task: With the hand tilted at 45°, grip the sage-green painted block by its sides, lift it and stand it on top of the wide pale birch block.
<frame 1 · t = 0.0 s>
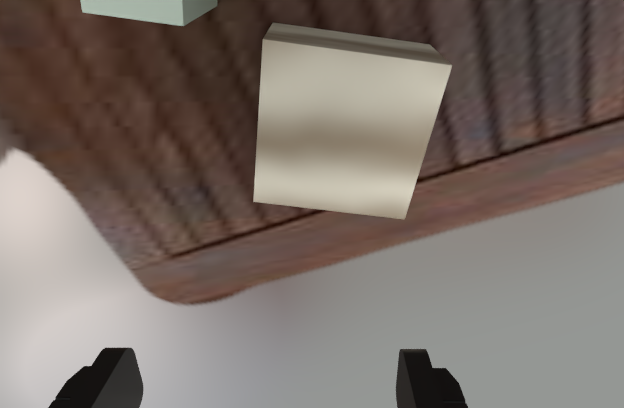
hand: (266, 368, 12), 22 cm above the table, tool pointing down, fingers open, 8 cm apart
birch block: (339, 108, 31), on the table
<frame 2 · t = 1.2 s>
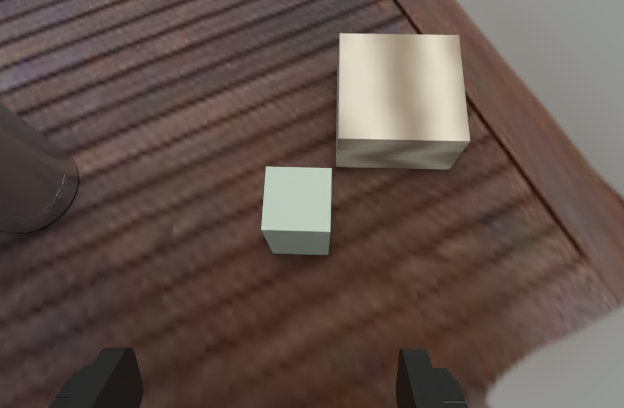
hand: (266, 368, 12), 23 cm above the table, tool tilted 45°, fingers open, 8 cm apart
sage block: (301, 227, 38), on the table
birch block: (390, 120, 41), on the table
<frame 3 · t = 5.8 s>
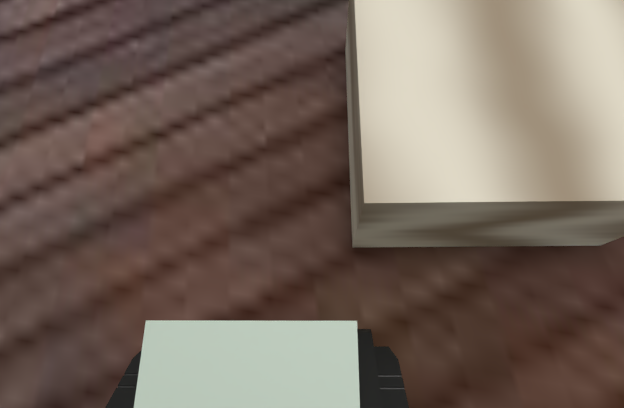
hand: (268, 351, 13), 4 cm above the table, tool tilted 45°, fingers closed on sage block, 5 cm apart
sage block: (281, 400, 16), on the table, touching gripper
birch block: (458, 141, 20), on the table
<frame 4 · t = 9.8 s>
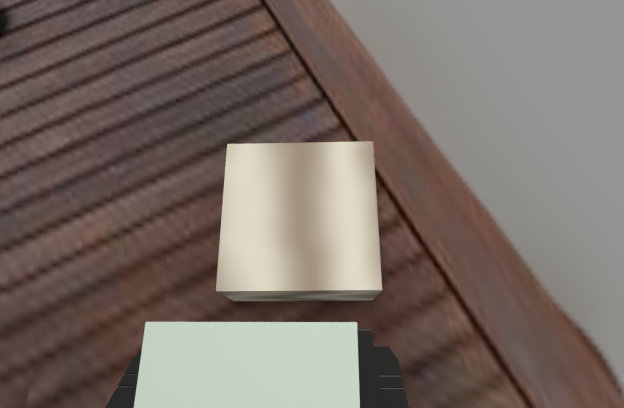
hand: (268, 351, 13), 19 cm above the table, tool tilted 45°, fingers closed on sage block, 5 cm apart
sage block: (281, 401, 16), point 15 cm above the table, touching gripper
birch block: (303, 234, 34), on the table
when the fingers open (10 cm above the table, at t = 14.1 s): sage block stays where it is, resting on birch block.
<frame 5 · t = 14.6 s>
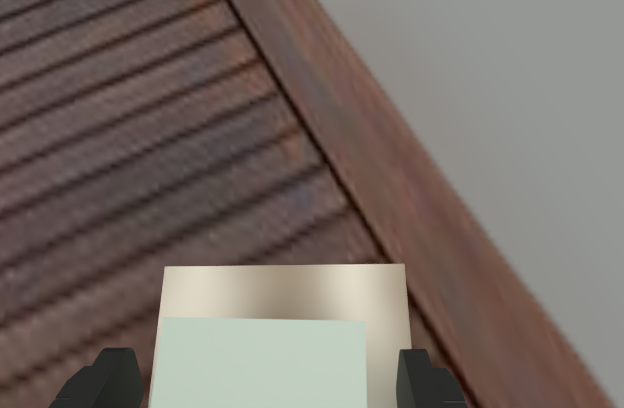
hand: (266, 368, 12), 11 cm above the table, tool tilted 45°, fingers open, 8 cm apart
sage block: (287, 396, 17), point 6 cm above the table, touching birch block
birch block: (292, 386, 22), on the table, touching sage block
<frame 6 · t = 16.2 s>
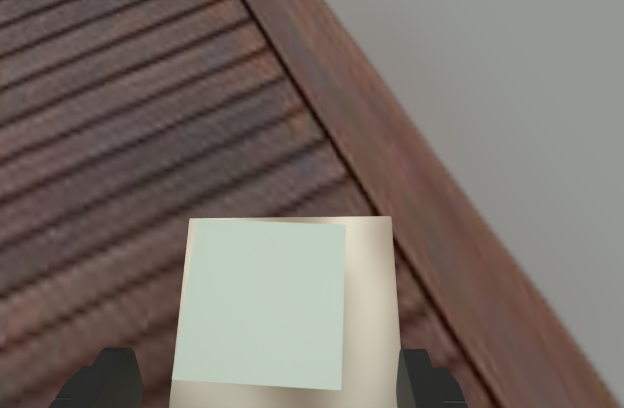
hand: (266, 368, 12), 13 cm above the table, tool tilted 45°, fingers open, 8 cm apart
sage block: (287, 317, 20), point 6 cm above the table, touching birch block
birch block: (296, 329, 26), on the table, touching sage block
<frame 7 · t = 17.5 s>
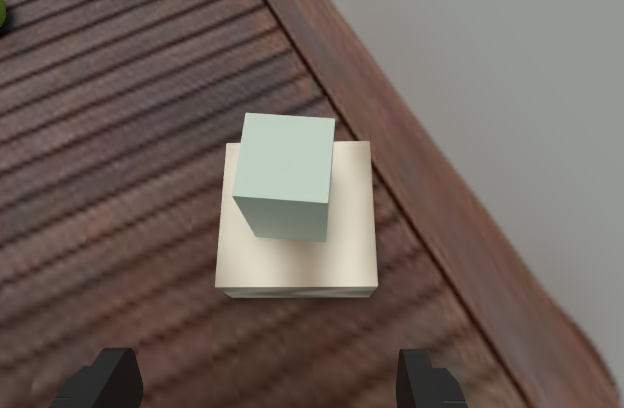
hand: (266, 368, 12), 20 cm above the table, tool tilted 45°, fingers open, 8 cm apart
sage block: (294, 206, 29), point 6 cm above the table
birch block: (301, 232, 35), on the table
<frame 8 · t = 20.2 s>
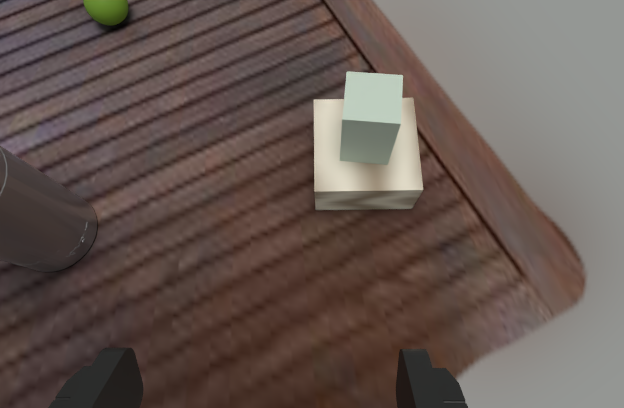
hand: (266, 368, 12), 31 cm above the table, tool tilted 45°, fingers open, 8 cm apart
sage block: (365, 141, 43), point 6 cm above the table
snail figurine: (113, 19, 57), on the table
birch block: (361, 167, 48), on the table
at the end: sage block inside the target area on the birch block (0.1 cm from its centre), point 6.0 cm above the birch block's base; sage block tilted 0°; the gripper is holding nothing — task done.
